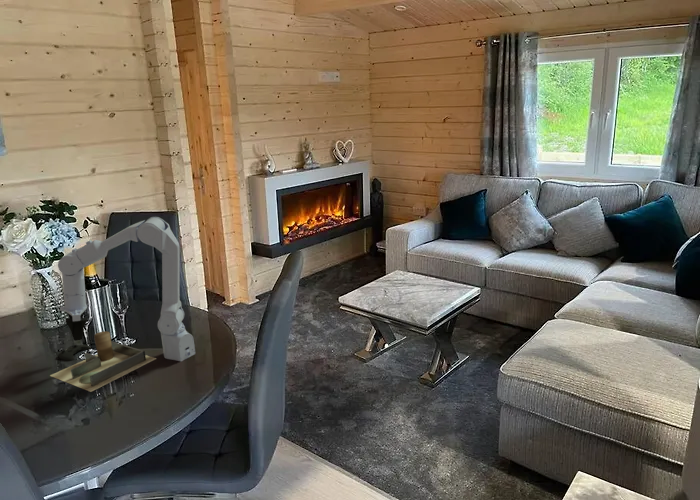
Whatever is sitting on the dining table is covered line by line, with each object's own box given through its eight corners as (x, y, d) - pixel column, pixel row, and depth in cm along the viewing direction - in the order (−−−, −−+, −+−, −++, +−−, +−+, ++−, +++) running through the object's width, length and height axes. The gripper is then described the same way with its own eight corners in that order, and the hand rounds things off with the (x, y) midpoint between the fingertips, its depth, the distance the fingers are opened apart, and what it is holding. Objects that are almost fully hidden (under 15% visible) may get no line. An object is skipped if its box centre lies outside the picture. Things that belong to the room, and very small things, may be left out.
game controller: (73, 362, 161) (59, 349, 161) (65, 372, 163) (51, 359, 163) (94, 348, 170) (80, 336, 170) (86, 358, 172) (72, 346, 172)
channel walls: (146, 360, 160) (144, 351, 159) (92, 386, 145) (90, 376, 145) (113, 349, 168) (112, 341, 167) (60, 374, 153) (58, 364, 153)
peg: (116, 356, 163) (112, 332, 161) (104, 362, 160) (99, 338, 158) (108, 353, 166) (103, 330, 163) (95, 359, 162) (90, 335, 160)
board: (157, 361, 161) (156, 357, 161) (91, 395, 143) (90, 390, 143) (116, 348, 171) (115, 345, 171) (50, 378, 153) (49, 374, 153)
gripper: (59, 286, 159) (62, 327, 162) (59, 302, 147) (62, 346, 150) (85, 284, 162) (87, 324, 166) (87, 299, 150) (90, 342, 153)
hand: (77, 334), depth 158 cm, fingers open, 7 cm apart
